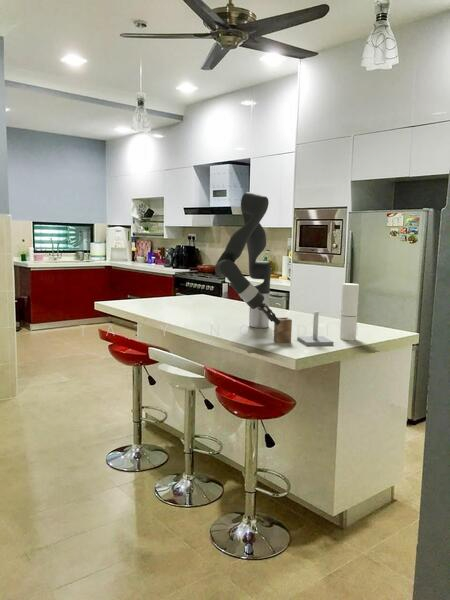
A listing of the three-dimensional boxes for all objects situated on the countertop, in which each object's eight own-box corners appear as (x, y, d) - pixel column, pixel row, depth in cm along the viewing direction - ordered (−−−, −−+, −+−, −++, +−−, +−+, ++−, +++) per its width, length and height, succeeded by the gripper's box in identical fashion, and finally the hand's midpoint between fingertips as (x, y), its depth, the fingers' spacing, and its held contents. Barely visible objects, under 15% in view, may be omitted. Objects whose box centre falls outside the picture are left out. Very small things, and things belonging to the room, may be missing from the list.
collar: (277, 342, 210) (278, 319, 209) (273, 339, 216) (274, 317, 215) (290, 342, 212) (291, 319, 210) (286, 339, 217) (287, 317, 216)
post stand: (306, 345, 205) (308, 314, 204) (297, 339, 217) (298, 309, 215) (333, 345, 208) (335, 314, 206) (322, 339, 219) (324, 309, 218)
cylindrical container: (353, 337, 226) (356, 283, 222) (357, 340, 219) (361, 285, 215) (337, 337, 225) (340, 283, 222) (342, 340, 218) (345, 284, 215)
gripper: (261, 291, 202) (287, 318, 205) (253, 287, 216) (277, 313, 219) (248, 304, 202) (274, 331, 205) (241, 299, 215) (265, 324, 219)
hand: (276, 321), depth 212 cm, fingers open, 8 cm apart
